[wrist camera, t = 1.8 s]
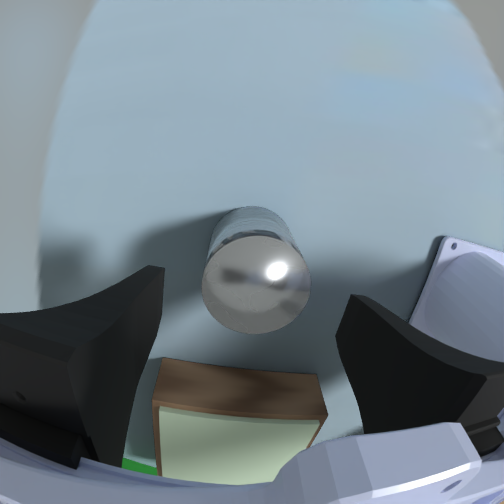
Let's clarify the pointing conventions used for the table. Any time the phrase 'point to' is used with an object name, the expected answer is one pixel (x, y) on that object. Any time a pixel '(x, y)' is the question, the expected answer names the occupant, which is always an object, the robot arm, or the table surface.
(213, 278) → the grey metal cylinder
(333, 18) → the table surface
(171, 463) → the walnut stand
